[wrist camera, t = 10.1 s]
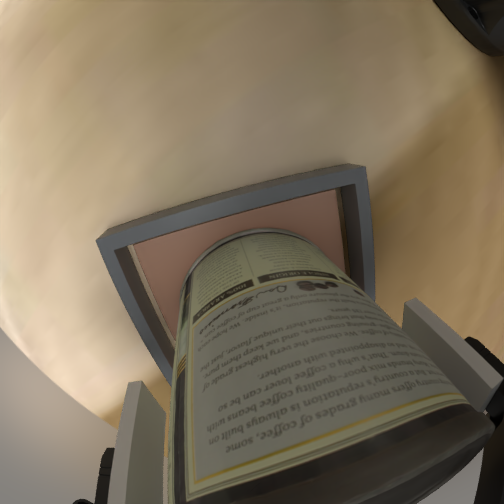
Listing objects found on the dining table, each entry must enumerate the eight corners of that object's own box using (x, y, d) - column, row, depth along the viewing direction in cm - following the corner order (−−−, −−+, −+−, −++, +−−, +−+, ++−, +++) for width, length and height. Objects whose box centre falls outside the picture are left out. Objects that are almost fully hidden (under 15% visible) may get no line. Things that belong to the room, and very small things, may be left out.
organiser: (348, 163, 15) (365, 166, 13) (356, 424, 26) (363, 437, 24) (107, 229, 14) (95, 240, 13) (236, 461, 25) (239, 474, 23)
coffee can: (352, 321, 19) (463, 473, 6) (229, 382, 19) (260, 559, 6) (304, 193, 15) (548, 347, 2) (146, 276, 16) (76, 529, 2)
